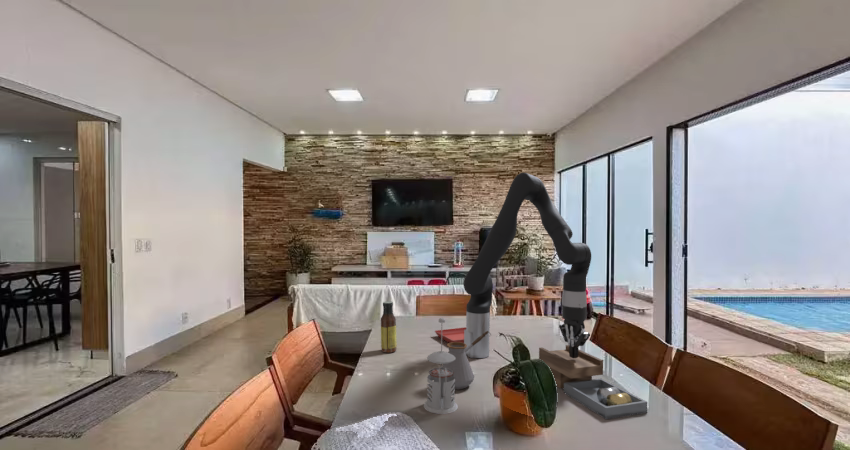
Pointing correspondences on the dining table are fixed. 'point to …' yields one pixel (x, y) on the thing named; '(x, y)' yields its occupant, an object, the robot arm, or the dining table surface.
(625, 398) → the brass slug
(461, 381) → the coffee pot
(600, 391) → the steel slug
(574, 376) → the brown open channel
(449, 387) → the french press
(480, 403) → the dining table surface
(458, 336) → the plant saucer
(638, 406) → the grey tray
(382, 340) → the sauce bottle
